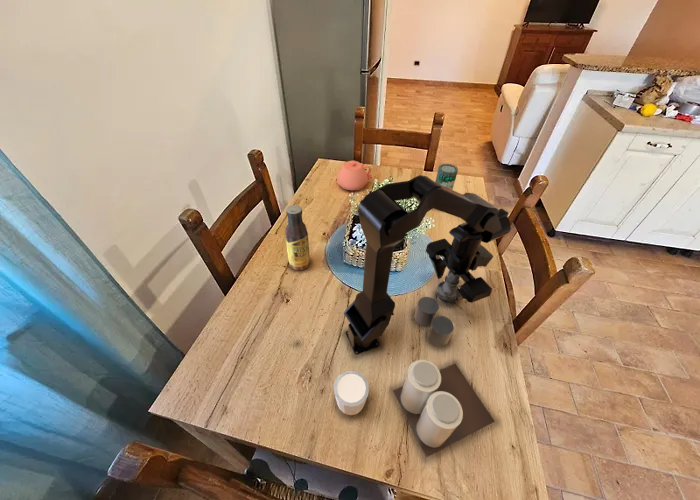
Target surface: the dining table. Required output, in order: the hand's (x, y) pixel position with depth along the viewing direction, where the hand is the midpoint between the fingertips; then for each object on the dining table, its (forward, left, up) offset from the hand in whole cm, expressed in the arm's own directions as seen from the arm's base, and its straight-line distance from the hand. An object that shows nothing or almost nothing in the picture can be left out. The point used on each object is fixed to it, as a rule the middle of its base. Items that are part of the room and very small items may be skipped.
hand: (448, 289), depth 81 cm
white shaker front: (-22, -26, -3) cm, 34 cm away
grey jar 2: (-9, -10, -4) cm, 14 cm away
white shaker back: (-22, -20, -3) cm, 29 cm away
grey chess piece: (0, 0, -4) cm, 4 cm away
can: (+23, +37, -4) cm, 44 cm away
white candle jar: (-34, -15, -4) cm, 37 cm away
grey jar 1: (-9, -4, -4) cm, 10 cm away
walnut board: (-17, -23, -4) cm, 29 cm away
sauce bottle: (-33, +27, -4) cm, 43 cm away
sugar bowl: (-1, +61, -4) cm, 61 cm away
